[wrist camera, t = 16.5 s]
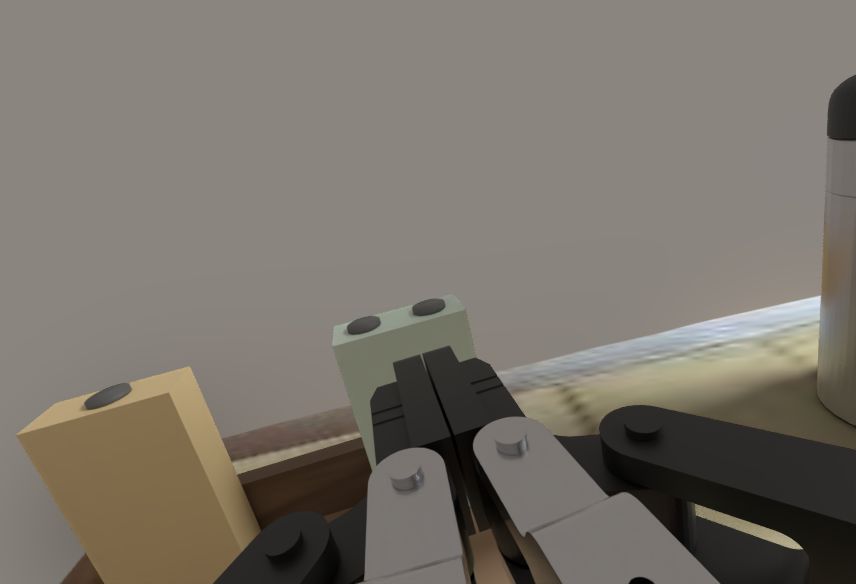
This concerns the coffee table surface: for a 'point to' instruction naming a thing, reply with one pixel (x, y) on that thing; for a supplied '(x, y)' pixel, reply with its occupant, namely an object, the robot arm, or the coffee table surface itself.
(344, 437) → the coffee table surface
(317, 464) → the tile rack
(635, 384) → the coffee table surface
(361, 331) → the tile two
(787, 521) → the robot arm
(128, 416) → the tile one
